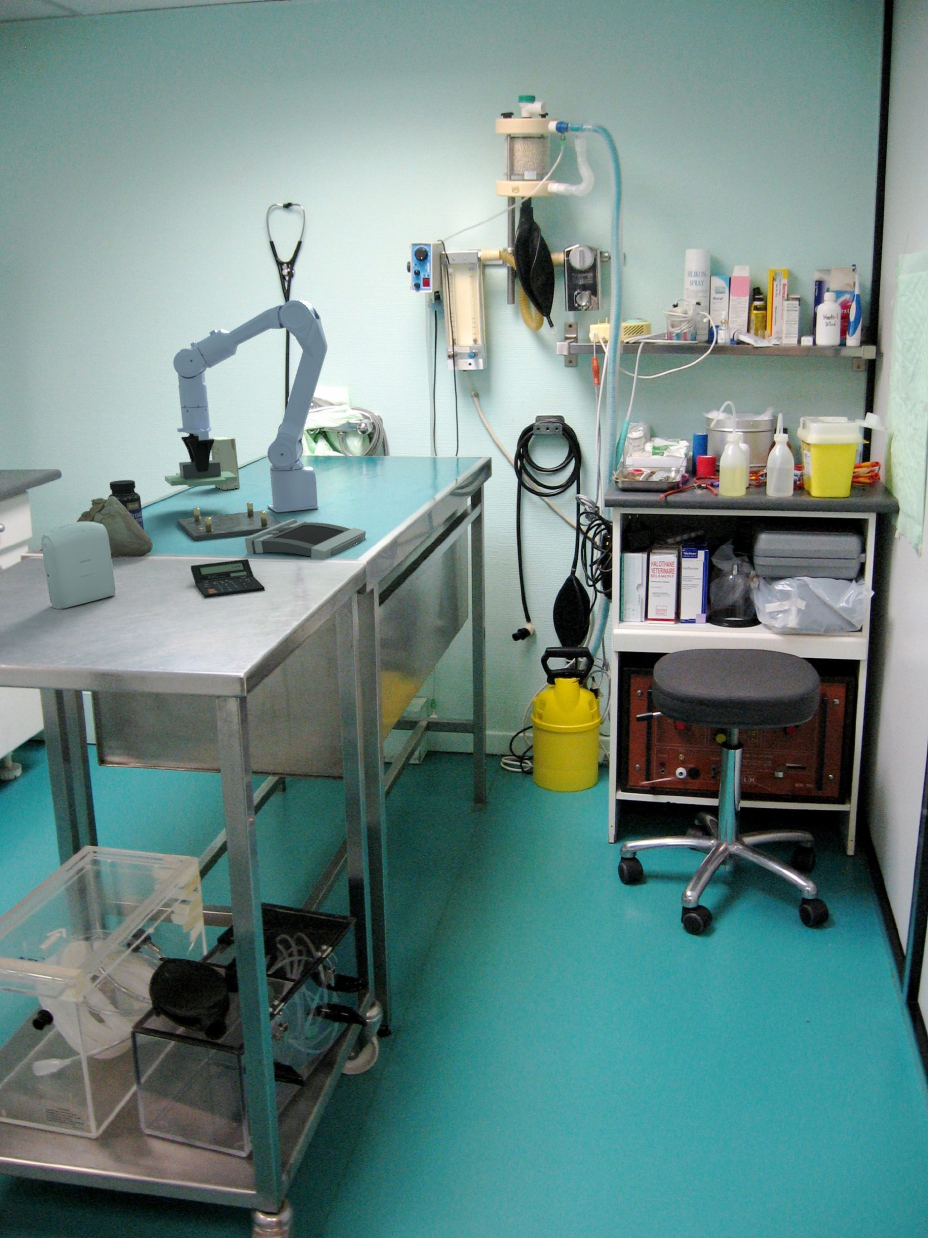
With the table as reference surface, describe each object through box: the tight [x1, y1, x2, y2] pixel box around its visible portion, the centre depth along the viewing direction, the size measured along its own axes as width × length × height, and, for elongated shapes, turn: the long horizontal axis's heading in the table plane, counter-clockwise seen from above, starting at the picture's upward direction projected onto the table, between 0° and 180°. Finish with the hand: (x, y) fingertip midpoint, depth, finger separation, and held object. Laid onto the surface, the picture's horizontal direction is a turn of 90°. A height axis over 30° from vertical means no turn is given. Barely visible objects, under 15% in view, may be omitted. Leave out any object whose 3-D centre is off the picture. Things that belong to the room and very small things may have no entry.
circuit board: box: [164, 459, 237, 488], centre depth 230 cm, size 14×14×4 cm
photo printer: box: [41, 521, 117, 610], centre depth 163 cm, size 10×4×12 cm, turn 140°
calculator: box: [190, 558, 266, 599], centre depth 171 cm, size 9×12×3 cm
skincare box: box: [209, 436, 241, 491], centre depth 258 cm, size 6×4×12 cm
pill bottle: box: [108, 479, 145, 531], centre depth 206 cm, size 6×6×11 cm
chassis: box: [177, 502, 282, 542], centre depth 214 cm, size 18×18×4 cm
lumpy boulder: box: [76, 496, 154, 557], centre depth 194 cm, size 11×11×15 cm
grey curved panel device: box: [244, 518, 367, 560], centre depth 197 cm, size 17×5×16 cm
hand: (200, 469), depth 230 cm, fingers closed on circuit board, 4 cm apart
